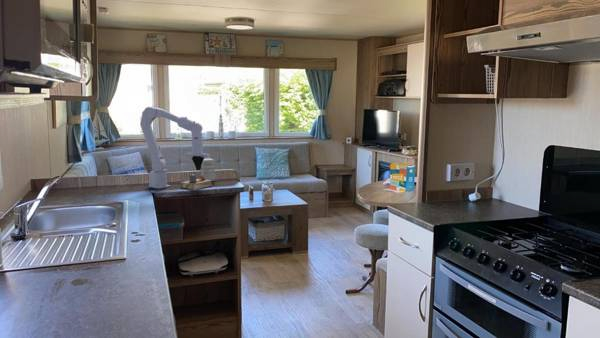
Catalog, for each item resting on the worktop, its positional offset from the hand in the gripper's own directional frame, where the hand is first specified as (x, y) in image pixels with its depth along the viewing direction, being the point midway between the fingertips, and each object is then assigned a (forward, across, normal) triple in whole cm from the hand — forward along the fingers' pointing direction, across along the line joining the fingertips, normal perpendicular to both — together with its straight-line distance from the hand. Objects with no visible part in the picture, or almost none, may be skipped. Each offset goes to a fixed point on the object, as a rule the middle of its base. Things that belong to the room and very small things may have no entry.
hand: (198, 169), depth 262 cm
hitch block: (+9, 0, -2) cm, 9 cm away
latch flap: (+5, 0, +2) cm, 5 cm away
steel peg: (+9, -1, -4) cm, 10 cm away
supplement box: (+9, -6, +16) cm, 20 cm away
